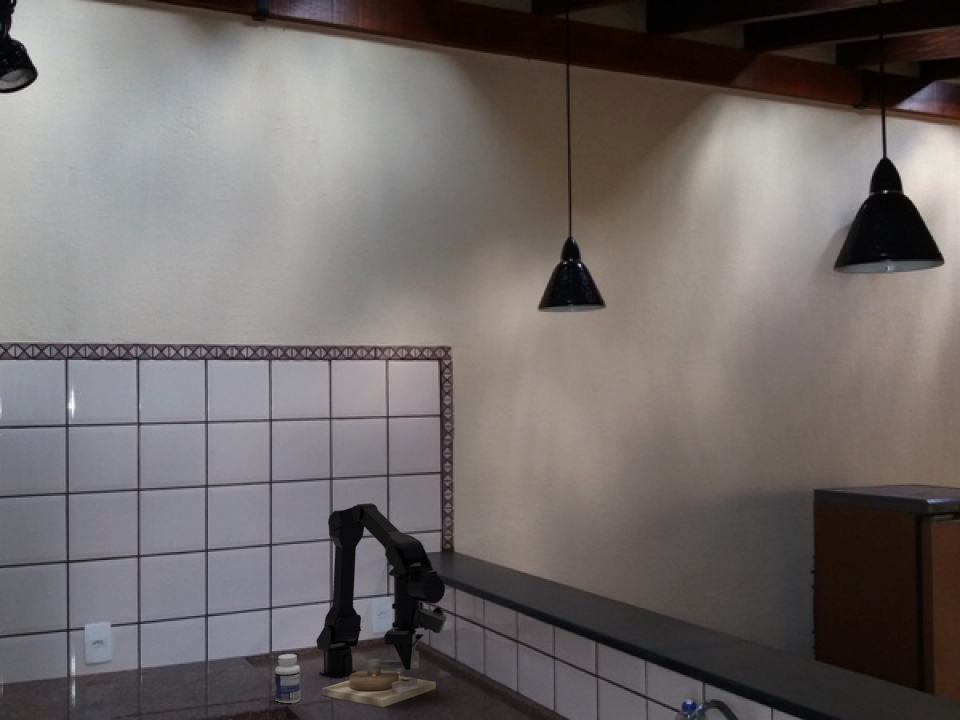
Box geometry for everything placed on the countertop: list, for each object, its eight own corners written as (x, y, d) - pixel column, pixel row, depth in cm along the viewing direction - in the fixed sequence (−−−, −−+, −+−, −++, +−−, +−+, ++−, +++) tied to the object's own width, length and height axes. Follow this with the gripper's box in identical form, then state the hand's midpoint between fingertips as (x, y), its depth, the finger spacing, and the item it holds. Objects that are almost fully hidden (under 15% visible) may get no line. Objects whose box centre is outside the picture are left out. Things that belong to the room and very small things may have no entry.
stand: (322, 695, 236) (322, 678, 236) (376, 678, 250) (375, 662, 250) (383, 707, 225) (382, 689, 225) (435, 688, 240) (435, 672, 240)
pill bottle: (276, 698, 234) (276, 653, 234) (301, 697, 234) (301, 652, 235) (274, 705, 228) (273, 659, 229) (299, 704, 229) (298, 658, 229)
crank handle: (350, 678, 243) (350, 649, 243) (418, 676, 244) (418, 647, 244) (348, 691, 232) (347, 660, 232) (419, 688, 233) (419, 657, 233)
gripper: (434, 605, 223) (435, 680, 223) (450, 591, 242) (451, 660, 241) (383, 605, 225) (383, 679, 224) (403, 590, 244) (404, 659, 243)
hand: (408, 669), depth 233 cm, fingers closed
